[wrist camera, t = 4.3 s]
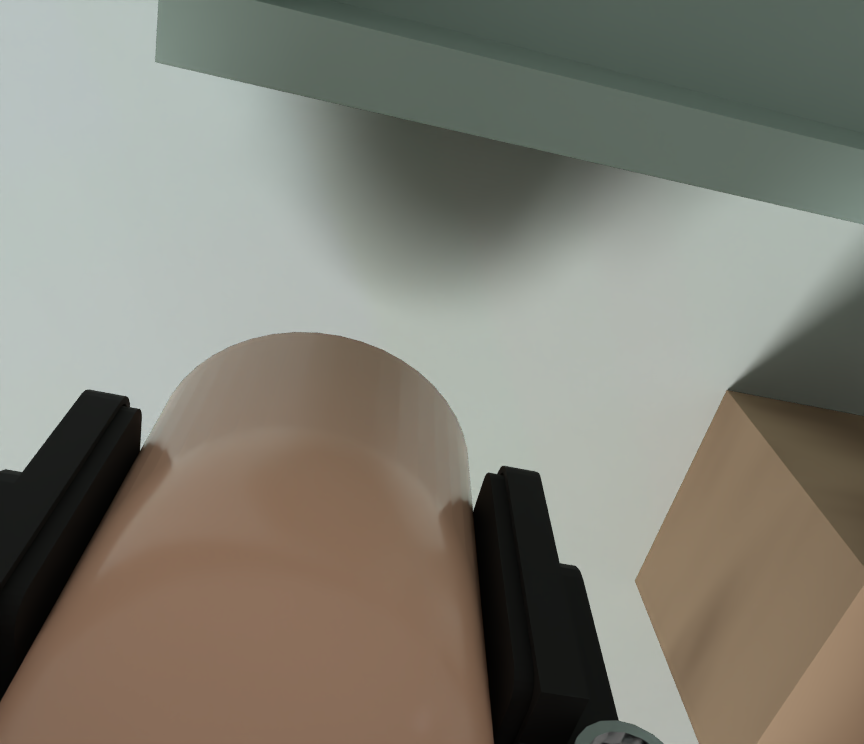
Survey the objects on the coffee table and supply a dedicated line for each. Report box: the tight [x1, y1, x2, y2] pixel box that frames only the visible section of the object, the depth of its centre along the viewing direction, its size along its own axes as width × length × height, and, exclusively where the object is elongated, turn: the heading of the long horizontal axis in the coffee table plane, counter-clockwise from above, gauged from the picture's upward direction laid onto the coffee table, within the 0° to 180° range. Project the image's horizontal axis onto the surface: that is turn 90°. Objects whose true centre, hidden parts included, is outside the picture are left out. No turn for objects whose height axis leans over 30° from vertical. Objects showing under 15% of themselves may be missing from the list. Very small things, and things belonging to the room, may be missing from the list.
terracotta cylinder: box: [0, 332, 494, 744], centre depth 9 cm, size 5×5×7 cm
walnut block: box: [635, 390, 864, 744], centre depth 17 cm, size 6×6×6 cm
